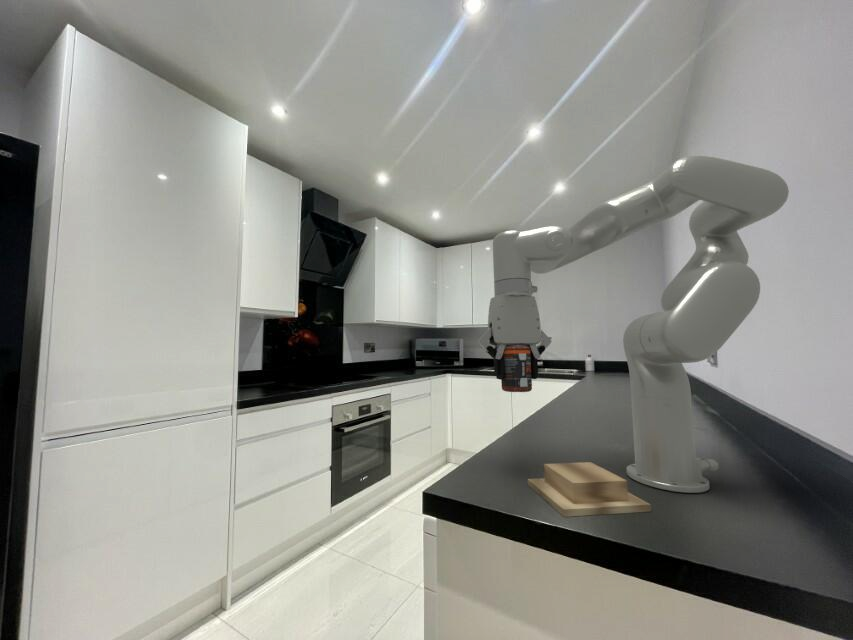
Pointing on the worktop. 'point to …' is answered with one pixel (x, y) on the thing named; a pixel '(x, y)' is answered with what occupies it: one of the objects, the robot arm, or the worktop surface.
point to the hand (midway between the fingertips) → (516, 378)
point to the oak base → (586, 507)
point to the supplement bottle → (517, 368)
